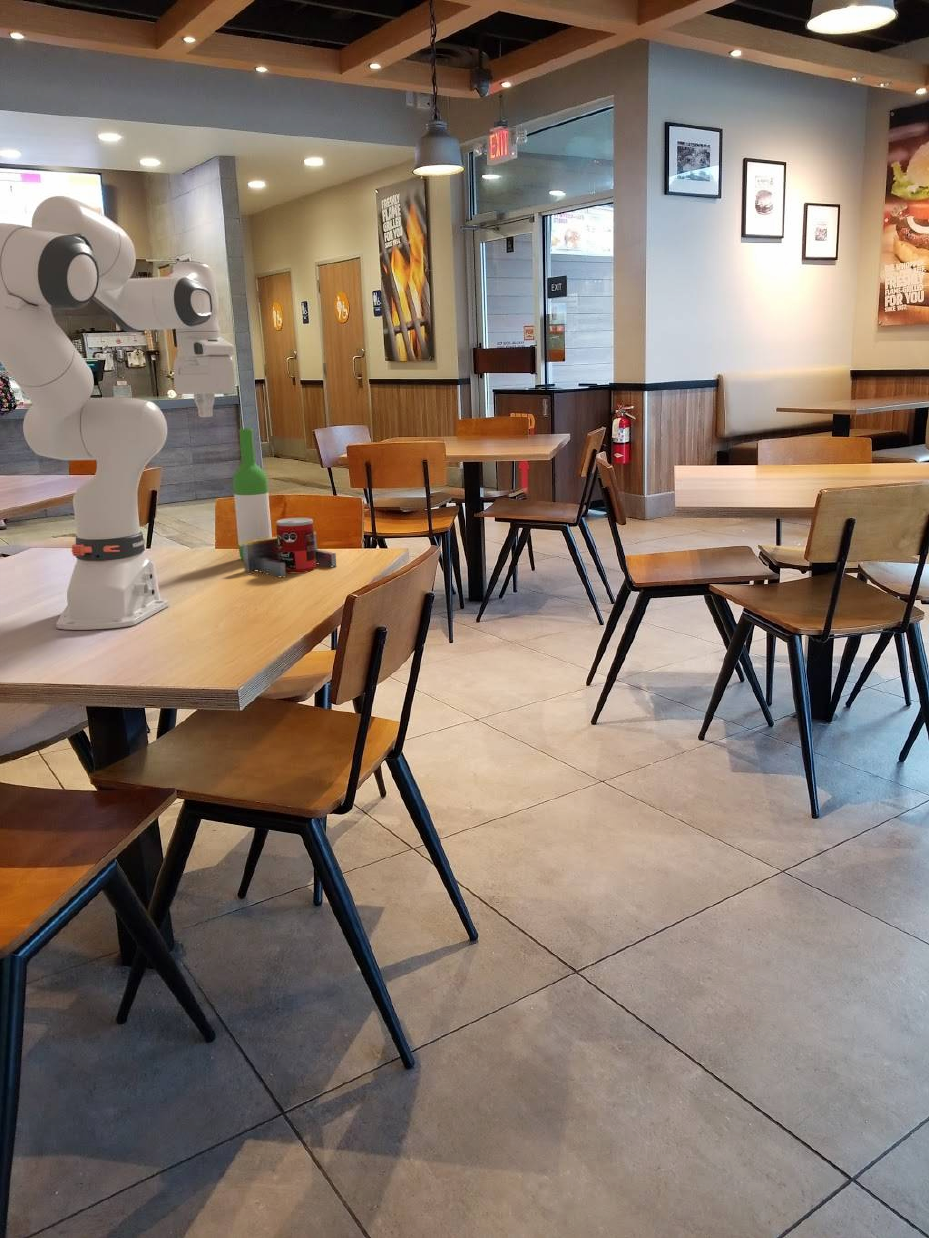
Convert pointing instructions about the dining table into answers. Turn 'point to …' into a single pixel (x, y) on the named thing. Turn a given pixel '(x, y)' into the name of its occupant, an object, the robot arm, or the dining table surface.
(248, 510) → the wine bottle
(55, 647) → the dining table surface
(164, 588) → the dining table surface
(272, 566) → the loading bay
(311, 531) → the canned food
